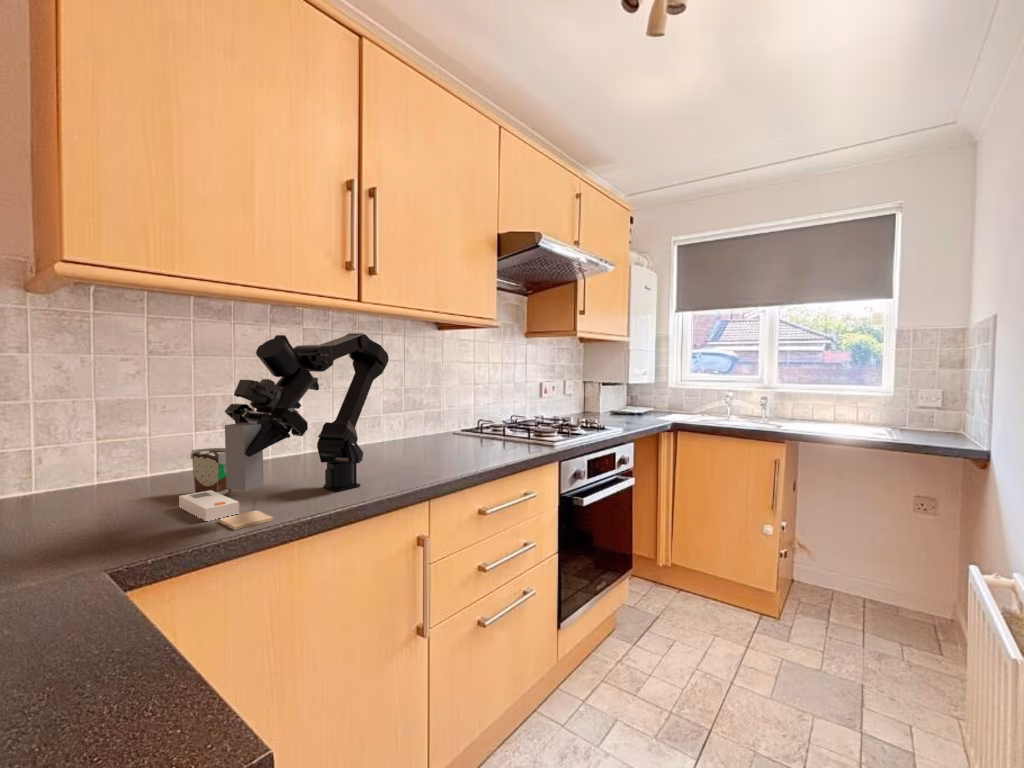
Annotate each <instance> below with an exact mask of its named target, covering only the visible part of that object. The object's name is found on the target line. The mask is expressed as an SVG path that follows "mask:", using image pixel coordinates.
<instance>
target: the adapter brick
mask: <svg viewBox="0 0 1024 768" xmlns="http://www.w3.org/2000/svg"><path fill="white" fill-rule="evenodd" d="M260 429H261V424H257V423H237V424H235V423H231V424H230V423H229V424H224V443H225V444H224V446H225V447H224V448H225V452H226V484H227V488H231V490H237V491H238V490H239V491H249V490H253V489H255V488H260V487H263V486H265V483H264V480H265V479H264V477H265V475H264V449H263V450H262V451H260V452H258V453H256V454H254V455H252V456H250V457H248V456H247V455H245V452H246V450H247V448H248V447H249V445H250V444H251V442H252V441H253V439H254V438H255V436H256V435H257V433H258V432H259V430H260Z"/></svg>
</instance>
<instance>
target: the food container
mask: <svg viewBox="0 0 1024 768" xmlns="http://www.w3.org/2000/svg"><path fill="white" fill-rule="evenodd" d="M190 459H191V460H192V462H191V463H192V470H193V471H192V472H193V486H194V487H193V488H194V493H198V492H204V491H209V490H212V491H214V492H217V493H219V494H221V495H224V496H226V497H228V496H230V495H231V494H230V493H231V491H232V489H231V488H227V484H226V452H225V447H212V448H211V447H210V448H207V447H206V448H199V449H191V453H190ZM229 494H230V495H229Z"/></svg>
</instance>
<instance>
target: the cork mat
mask: <svg viewBox="0 0 1024 768" xmlns="http://www.w3.org/2000/svg"><path fill="white" fill-rule="evenodd" d="M273 521H274V517H273V516H271V515H268V514H267V513H263V512H261V511H260V510H253V511H252V510H251V511H247V512H244V513H239V514H238V515H234V516H229V517H225V518H221V519H218V523H220V524H222V525H224V526H226V525H227V526H226V527H228V528H230V529H232V530H233V529H234V531H237V530H240V528H241V529H245V528H248V527H249V528H250V527H252V526H253V527H254V526H256V525H260V524H266V523H269V522H273ZM244 527H245V528H244ZM236 529H237V530H236Z"/></svg>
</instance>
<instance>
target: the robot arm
mask: <svg viewBox="0 0 1024 768" xmlns="http://www.w3.org/2000/svg"><path fill="white" fill-rule="evenodd" d="M255 353H256V356H257V358H258V359H259V360H260V361H261V363H262V364H263V365H264V366H265V368H266V369H267V370H268V372H270V374H271V375H272V376H273V377H276V378H279V379H278V380H277V382H275V380H272V379H270V378H263V379H261V380H260V381H258V380H252V379H239V381H238V383H237V385H236V389H235V391H234V392H233V396H235V397H237V398H242V399H245V400H247V401H250V403H249V405H248V404H247V403H246V404H245V403H230V404H229V406H228V407H227V408H226V409H225V410H224V413H225V414H226V415H227V416H229V418H231V420H232V421H234V424H237V423H257V424H261V429H260V430H259V432H258V433H257V435H256V436H255V438H254V439H253V441H252V442H251V444H250V445H249V447H248V448H247V450H246V452H245V455H247V456H248V457H250V456H252V455H254V454H256V453H258V452H260V451H262V450H263V451H264V449H266V448H269V447H271V446H273V445H275V444H277V443H280V442H281V441H283V440H285V439H289V438H291V435H290V432H291V434H292V436H295V437H296V436H298V437H303V436H304V435H305V434H306V432H307V431H308V429H309V427H308V426H309V425H308V423H309V422H308V421H307V420H306V419H305V418H304V417H303V416H302V415H301V414H300V413H299V412H298V411H297V410H299V409H300V407H302V404H301V403H300V401H301V400H302V398H303V397H304V395H305V394H306V393H307V392H308V391H309V390H314V391H319V390H320V384H319V378H318V377H314V376H313V374H312V372H313V373H314V372H315V373H317V372H318V373H322V372H326V371H327V370H329V369H330V368H331V367H332V366H333V365H334V361H335V360H337V359H340V358H343V357H344V356H347V355H348V357H349V358H350V359H351V361H352V366H353V370H354V375H353V377H352V380H351V382H350V384H349V387H348V389H347V391H346V393H345V396H344V399H343V402H342V404H341V406H340V409H339V411H338V414H337V416H336V417H335V420H334V421H332V422H325V423H324V424H323V425H322V428H321V429H322V430H321V431H320V433H319V435H318V436H317V438H318V441H317V444H316V449H317V452H318V456H319V459H320V463H323V464H324V463H326V469H325V471H324V481H325V483H324V484H323V485H322V486H323V488H326V489H330V490H332V491H335V492H336V491H337V492H339V491H345V490H348V489H353V488H357V487H361V483H358V482H357V481H358V480H357V468H358V467H357V464H360V463H361V462H362V461H363V458H364V457H363V456H364V452H363V450H362V448H361V447H360V446H359V444H358V439H359V437H358V434H357V429H356V426H357V423H358V421H359V418H360V416H361V414H362V410H363V407H364V406H365V402H366V400H367V398H368V395H369V393H370V390H371V388H372V385H373V382H374V381H375V380H376V379H377V378H378V377H380V376H381V375H382V374H383V373H384V371H385V370H386V367H387V366H388V363H389V354H388V352H387V351H386V349H384V347H383V346H382V345H381V344H379V343H378V342H376V341H374V340H372V339H371V338H370V337H368V335H366V334H364V333H363V332H362V333H359V332H358V333H357V332H356V333H353V332H351V333H350V332H349V333H348V334H345V335H344V336H341V337H338V338H334V339H333V340H329V341H327V342H323V343H320V344H305V345H304V344H303V345H297V346H295V347H293V346H292V345H291V343H290V342H289V339H288V337H287V336H286V335H285V334H284V335H283V334H280V335H279V334H276V335H275V336H274V338H272V339H268V340H266V341H265V342H263V343H262V344H260V345H259V346H258V347H257V349H256V352H255ZM251 407H252V408H251ZM254 409H256V410H254ZM296 409H297V410H296Z"/></svg>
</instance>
